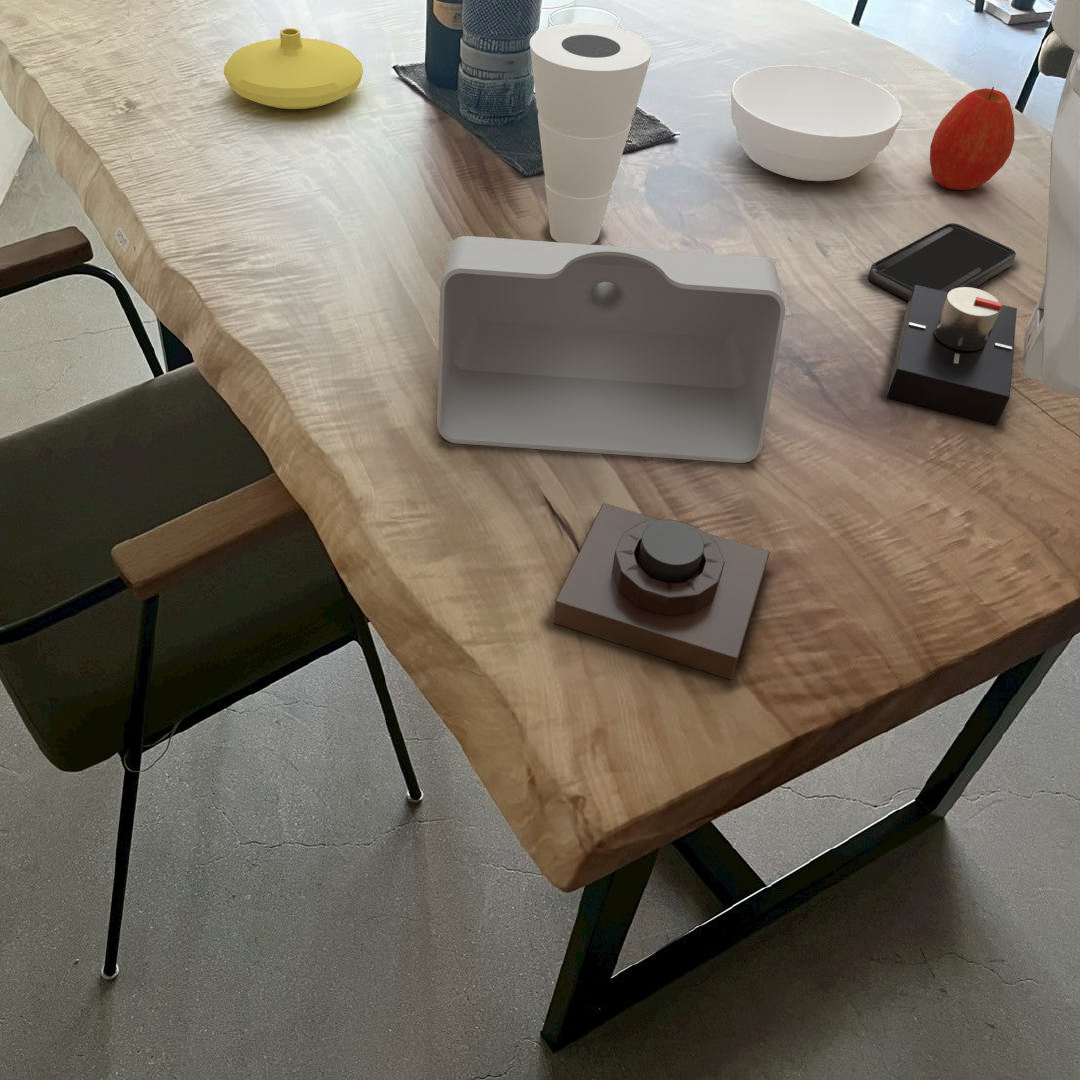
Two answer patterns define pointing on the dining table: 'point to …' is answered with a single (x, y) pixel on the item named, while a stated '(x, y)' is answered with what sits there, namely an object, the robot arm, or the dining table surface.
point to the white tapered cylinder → (584, 118)
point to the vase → (293, 71)
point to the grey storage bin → (607, 349)
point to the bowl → (812, 120)
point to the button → (671, 551)
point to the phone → (942, 262)
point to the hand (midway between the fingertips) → (1043, 362)
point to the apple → (973, 140)
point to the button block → (662, 595)
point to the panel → (952, 363)
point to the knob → (967, 319)
